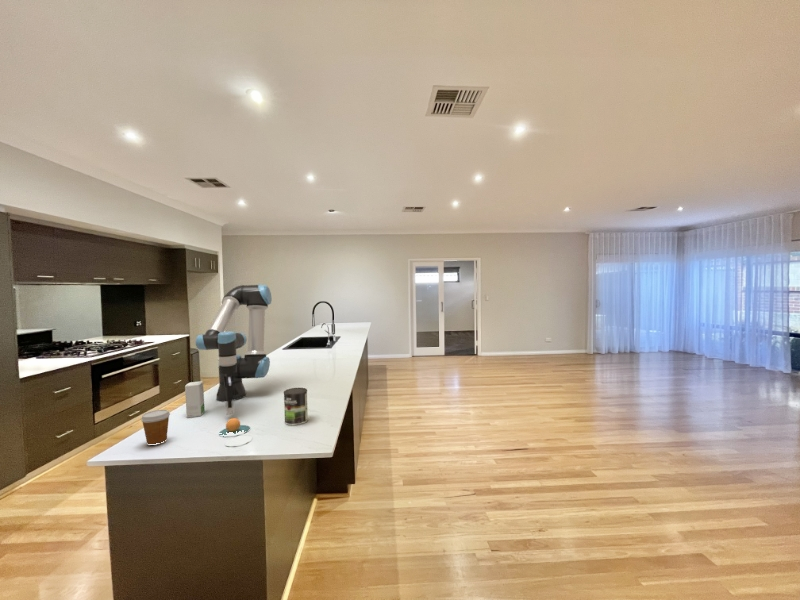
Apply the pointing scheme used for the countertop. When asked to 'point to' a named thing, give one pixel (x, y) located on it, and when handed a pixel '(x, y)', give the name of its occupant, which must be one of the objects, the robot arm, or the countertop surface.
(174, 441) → the countertop surface
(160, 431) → the disposable coffee cup
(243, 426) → the disc
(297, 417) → the coffee can
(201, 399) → the skincare box
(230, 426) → the ball
